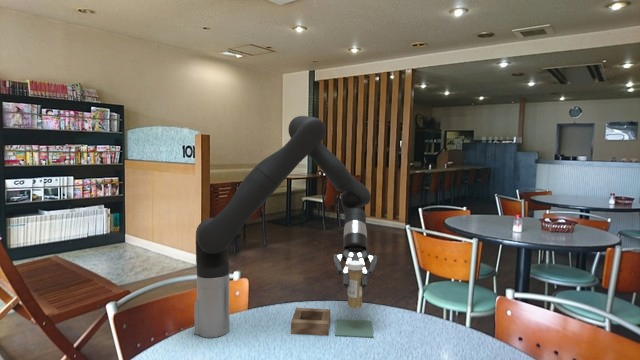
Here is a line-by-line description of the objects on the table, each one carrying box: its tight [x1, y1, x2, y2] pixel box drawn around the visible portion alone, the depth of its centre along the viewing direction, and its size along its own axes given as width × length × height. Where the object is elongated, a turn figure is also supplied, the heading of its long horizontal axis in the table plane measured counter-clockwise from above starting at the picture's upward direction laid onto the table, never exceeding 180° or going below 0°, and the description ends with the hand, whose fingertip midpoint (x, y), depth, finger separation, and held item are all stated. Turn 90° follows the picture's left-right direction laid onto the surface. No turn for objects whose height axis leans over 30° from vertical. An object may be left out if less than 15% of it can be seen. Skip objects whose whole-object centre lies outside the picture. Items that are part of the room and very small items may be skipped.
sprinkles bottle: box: [346, 261, 363, 309], centre depth 118 cm, size 5×5×13 cm
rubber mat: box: [334, 318, 374, 339], centre depth 119 cm, size 11×11×1 cm
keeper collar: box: [290, 307, 331, 337], centre depth 119 cm, size 11×11×4 cm
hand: (355, 286), depth 116 cm, fingers closed on sprinkles bottle, 4 cm apart
